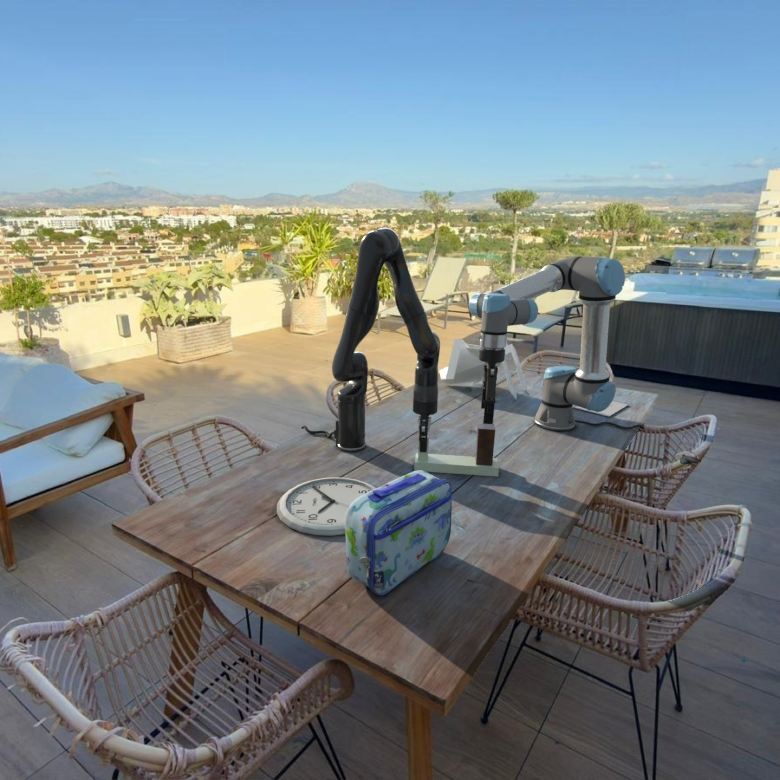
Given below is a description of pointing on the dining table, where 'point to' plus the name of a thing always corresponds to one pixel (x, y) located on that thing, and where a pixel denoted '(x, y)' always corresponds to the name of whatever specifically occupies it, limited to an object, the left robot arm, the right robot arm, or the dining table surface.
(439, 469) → the pale green l-shaped block
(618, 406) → the invitation card
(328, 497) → the wall clock
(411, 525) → the lunch box
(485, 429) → the walnut block
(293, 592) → the dining table surface
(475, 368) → the white plastic object
